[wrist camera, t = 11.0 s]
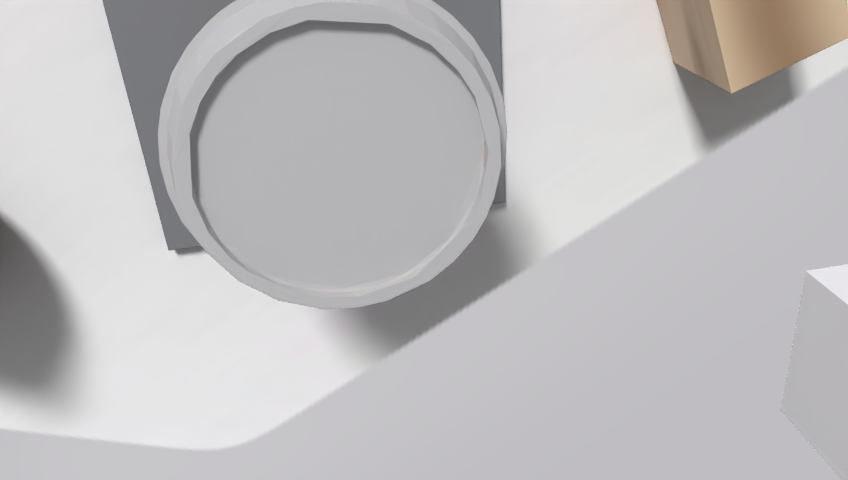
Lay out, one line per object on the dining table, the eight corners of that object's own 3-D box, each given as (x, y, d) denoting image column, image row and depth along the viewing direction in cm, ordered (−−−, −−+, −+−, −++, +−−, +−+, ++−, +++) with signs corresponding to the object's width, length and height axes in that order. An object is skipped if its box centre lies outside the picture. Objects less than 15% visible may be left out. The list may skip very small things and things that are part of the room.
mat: (490, -171, 28) (494, -171, 28) (501, 196, 35) (505, 201, 35) (70, -135, 27) (67, -134, 26) (170, 244, 34) (168, 250, 33)
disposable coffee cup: (249, 198, 33) (239, 365, 22) (151, -26, 28) (80, 53, 18) (461, 127, 33) (549, 261, 22) (398, -106, 28) (472, -75, 18)
